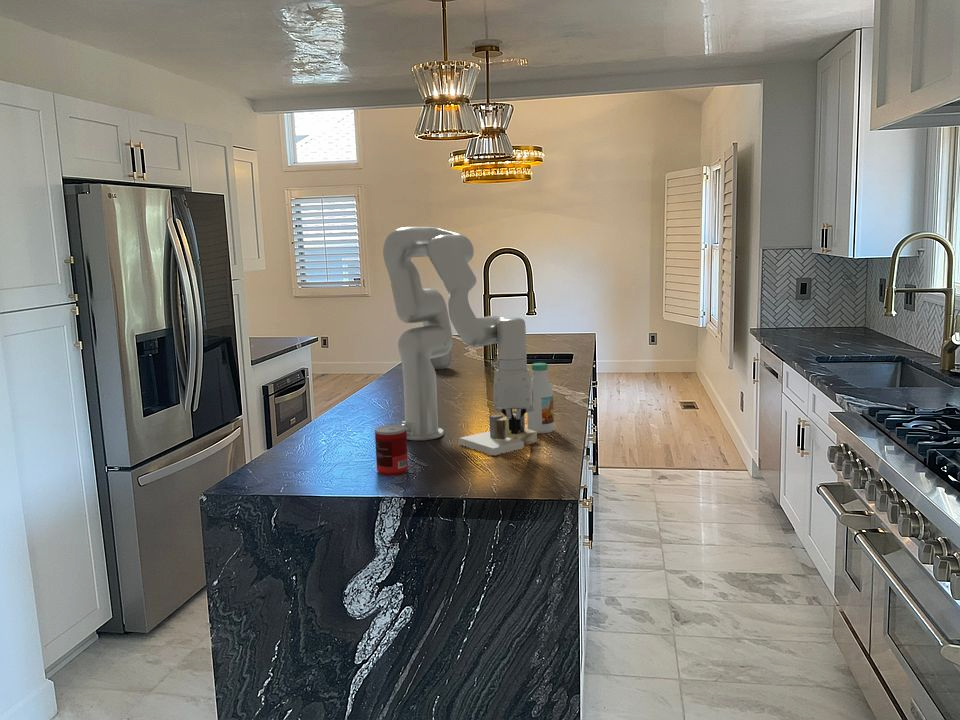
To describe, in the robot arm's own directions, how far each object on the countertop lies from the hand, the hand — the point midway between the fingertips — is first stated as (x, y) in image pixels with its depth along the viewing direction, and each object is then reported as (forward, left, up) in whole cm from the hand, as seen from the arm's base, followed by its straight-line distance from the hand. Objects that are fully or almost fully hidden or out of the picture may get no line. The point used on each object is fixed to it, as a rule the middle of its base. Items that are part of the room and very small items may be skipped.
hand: (515, 432), depth 211 cm
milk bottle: (+20, +12, -5) cm, 24 cm away
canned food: (-34, +7, -5) cm, 35 cm away
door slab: (-2, +8, -5) cm, 10 cm away
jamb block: (+7, +7, -5) cm, 11 cm away
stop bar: (+3, +5, -2) cm, 6 cm away
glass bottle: (+61, +125, -5) cm, 139 cm away
